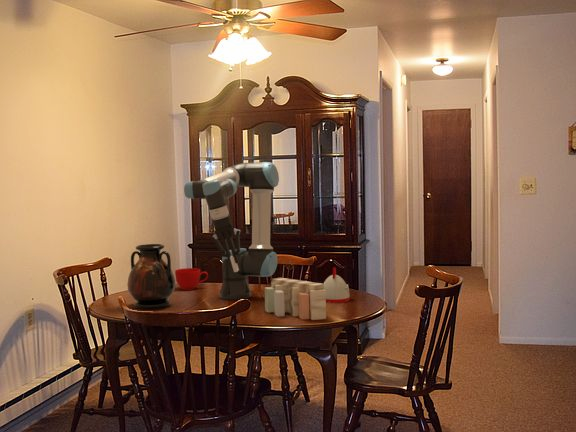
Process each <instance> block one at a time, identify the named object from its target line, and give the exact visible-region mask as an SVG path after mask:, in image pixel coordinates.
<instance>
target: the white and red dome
mask: <svg viewBox="0 0 576 432" xmlns="http://www.w3.org/2000/svg"><path fill="white" fill-rule="evenodd" d="M322 284H324V290H326V302H327V303H326V304H328V303H329V304H341V303H346V302H347V303H348V302H349V301H350V300H351V296H350V289H349V283H348V284H347V283H346V281H345V280H344V279H343V278H342V277H341V276H340V275H338V274H337V268H336V267H333V268H332V274H331V275H329V276H328V277H327V278H326V279H325V280H324V282H323V283H322Z"/></svg>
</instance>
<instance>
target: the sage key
mask: <svg viewBox="0 0 576 432" xmlns="http://www.w3.org/2000/svg"><path fill="white" fill-rule="evenodd" d="M264 310H265V312H266V313H268V314H269V313H275V308H274V288H272V287H271V286H267V287H266V286H265V287H264Z"/></svg>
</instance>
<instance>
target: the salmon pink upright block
mask: <svg viewBox="0 0 576 432" xmlns="http://www.w3.org/2000/svg"><path fill="white" fill-rule="evenodd" d="M298 298H299V316H298V318H300V320H303V321H304V320H309V319H310V318H309V294H307V293H298Z"/></svg>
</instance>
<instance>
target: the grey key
mask: <svg viewBox="0 0 576 432" xmlns="http://www.w3.org/2000/svg"><path fill="white" fill-rule="evenodd" d="M274 308H275V312H274V315H275V316H276V317H285V313H286V312H284V292H283V291H281V290H277V291H274Z"/></svg>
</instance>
